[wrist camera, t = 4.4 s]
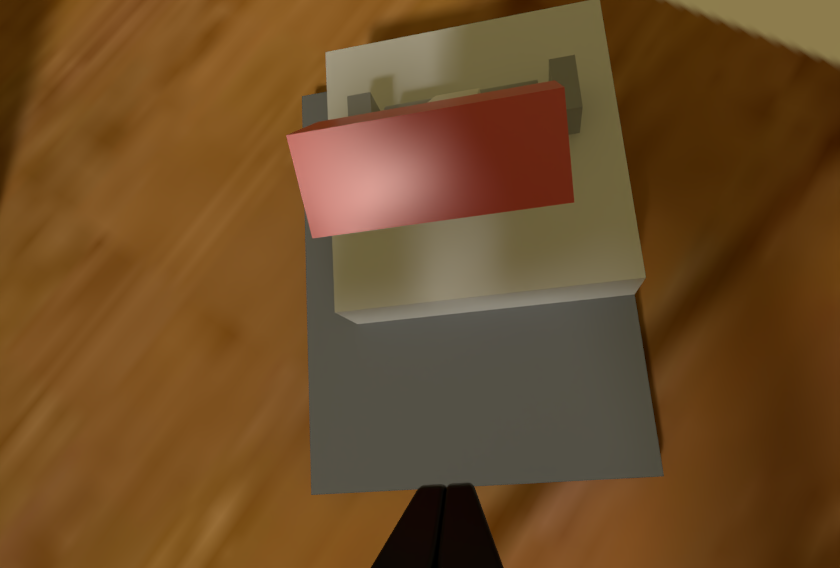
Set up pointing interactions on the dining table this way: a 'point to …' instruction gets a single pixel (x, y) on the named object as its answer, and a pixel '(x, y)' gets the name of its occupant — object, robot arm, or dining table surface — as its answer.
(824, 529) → the dining table surface
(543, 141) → the switch lever
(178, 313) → the dining table surface
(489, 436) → the switch panel
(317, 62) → the dining table surface
